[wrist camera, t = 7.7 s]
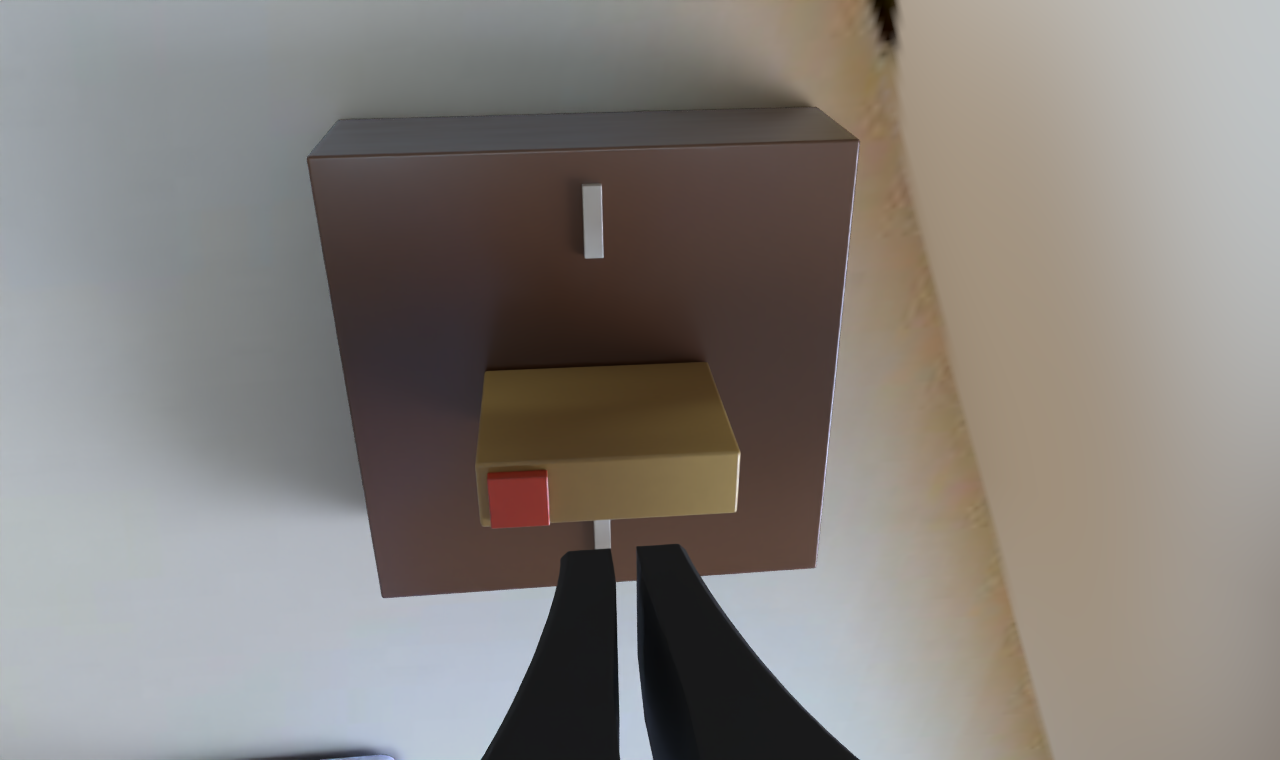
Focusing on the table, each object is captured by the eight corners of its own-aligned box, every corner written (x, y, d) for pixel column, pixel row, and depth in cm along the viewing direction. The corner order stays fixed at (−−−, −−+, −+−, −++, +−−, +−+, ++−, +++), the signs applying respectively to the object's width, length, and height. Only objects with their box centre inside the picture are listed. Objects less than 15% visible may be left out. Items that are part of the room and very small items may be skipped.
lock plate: (786, 496, 25) (818, 573, 22) (398, 520, 24) (380, 604, 21) (818, 106, 20) (864, 141, 17) (336, 118, 19) (302, 159, 16)
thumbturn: (707, 360, 19) (744, 459, 16) (705, 415, 20) (740, 522, 16) (484, 369, 19) (473, 472, 15) (488, 426, 19) (479, 537, 16)
